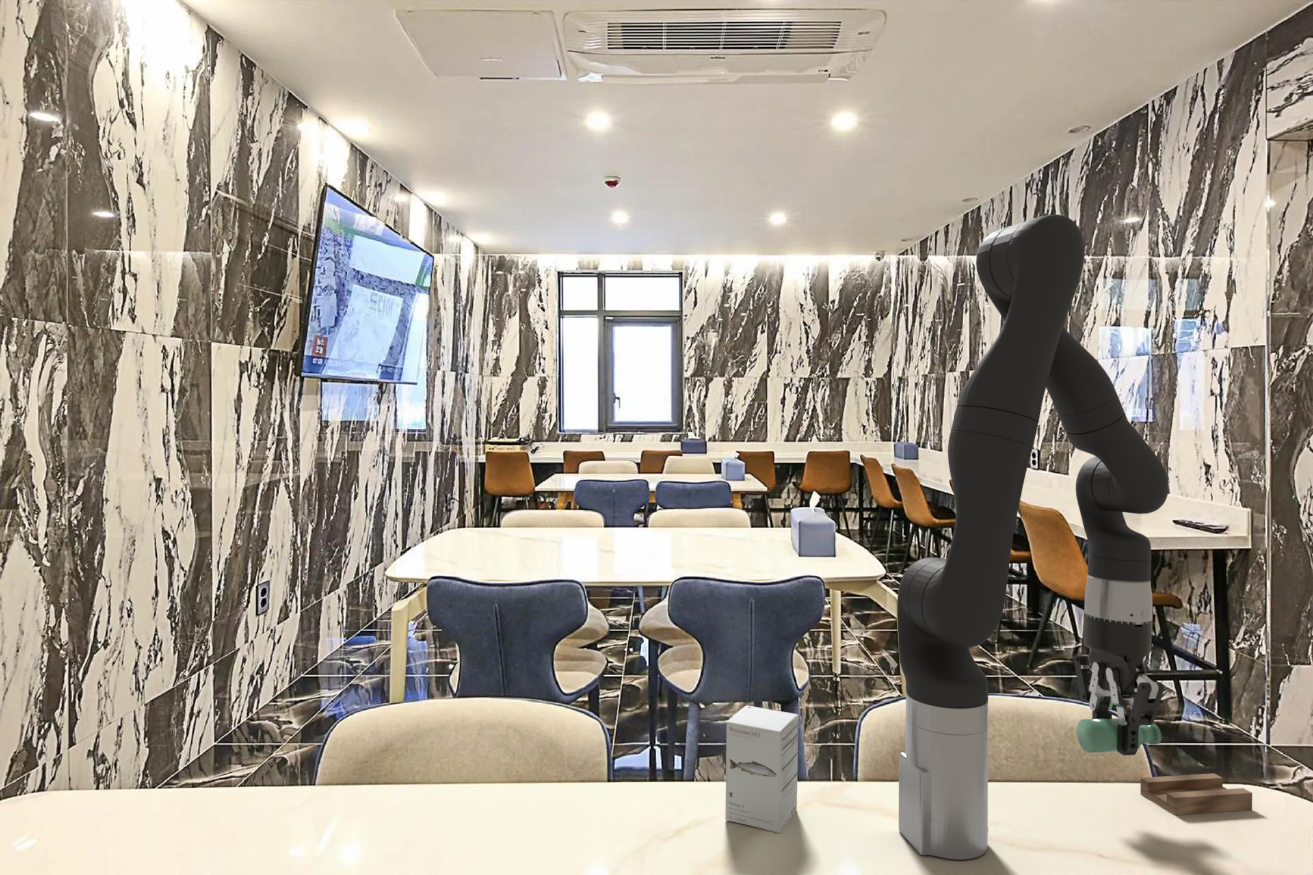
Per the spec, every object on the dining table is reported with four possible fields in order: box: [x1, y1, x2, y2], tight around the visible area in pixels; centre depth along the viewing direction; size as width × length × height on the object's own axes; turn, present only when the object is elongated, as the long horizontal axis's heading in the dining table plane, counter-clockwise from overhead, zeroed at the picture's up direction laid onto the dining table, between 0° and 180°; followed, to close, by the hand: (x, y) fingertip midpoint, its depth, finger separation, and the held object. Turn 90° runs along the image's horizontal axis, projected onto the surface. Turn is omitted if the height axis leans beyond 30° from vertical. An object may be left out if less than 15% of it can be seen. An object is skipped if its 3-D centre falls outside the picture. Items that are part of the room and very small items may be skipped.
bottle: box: [1076, 717, 1162, 754], centre depth 104 cm, size 9×4×4 cm, turn 98°
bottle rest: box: [1140, 772, 1253, 816], centre depth 107 cm, size 11×6×2 cm, turn 98°
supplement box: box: [724, 704, 800, 834], centre depth 103 cm, size 7×7×13 cm
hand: (1114, 746), depth 104 cm, fingers closed on bottle, 4 cm apart
